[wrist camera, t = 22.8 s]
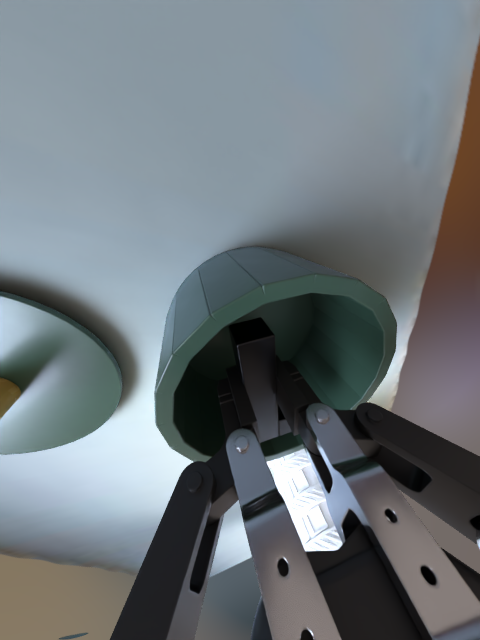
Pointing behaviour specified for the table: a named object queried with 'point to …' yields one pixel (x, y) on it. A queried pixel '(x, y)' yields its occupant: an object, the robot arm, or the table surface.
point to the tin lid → (51, 378)
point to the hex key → (259, 374)
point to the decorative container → (305, 502)
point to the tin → (290, 340)
